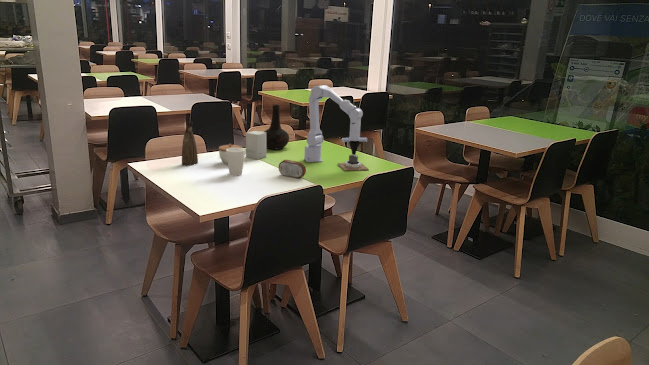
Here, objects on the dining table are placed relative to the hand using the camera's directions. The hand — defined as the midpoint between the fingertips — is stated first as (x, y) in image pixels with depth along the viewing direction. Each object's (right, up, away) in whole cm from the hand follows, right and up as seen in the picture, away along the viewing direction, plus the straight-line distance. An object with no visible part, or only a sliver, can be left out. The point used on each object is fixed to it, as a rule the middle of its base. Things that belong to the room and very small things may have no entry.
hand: (353, 154), depth 271 cm
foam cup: (-63, -12, -20) cm, 67 cm away
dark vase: (-48, +6, +41) cm, 64 cm away
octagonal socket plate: (0, -7, +2) cm, 8 cm away
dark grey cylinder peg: (0, -7, +2) cm, 7 cm away
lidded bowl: (-69, -5, +1) cm, 70 cm away
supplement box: (-57, -1, +16) cm, 59 cm away
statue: (-91, -6, -5) cm, 91 cm away
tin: (-34, -13, -20) cm, 41 cm away
